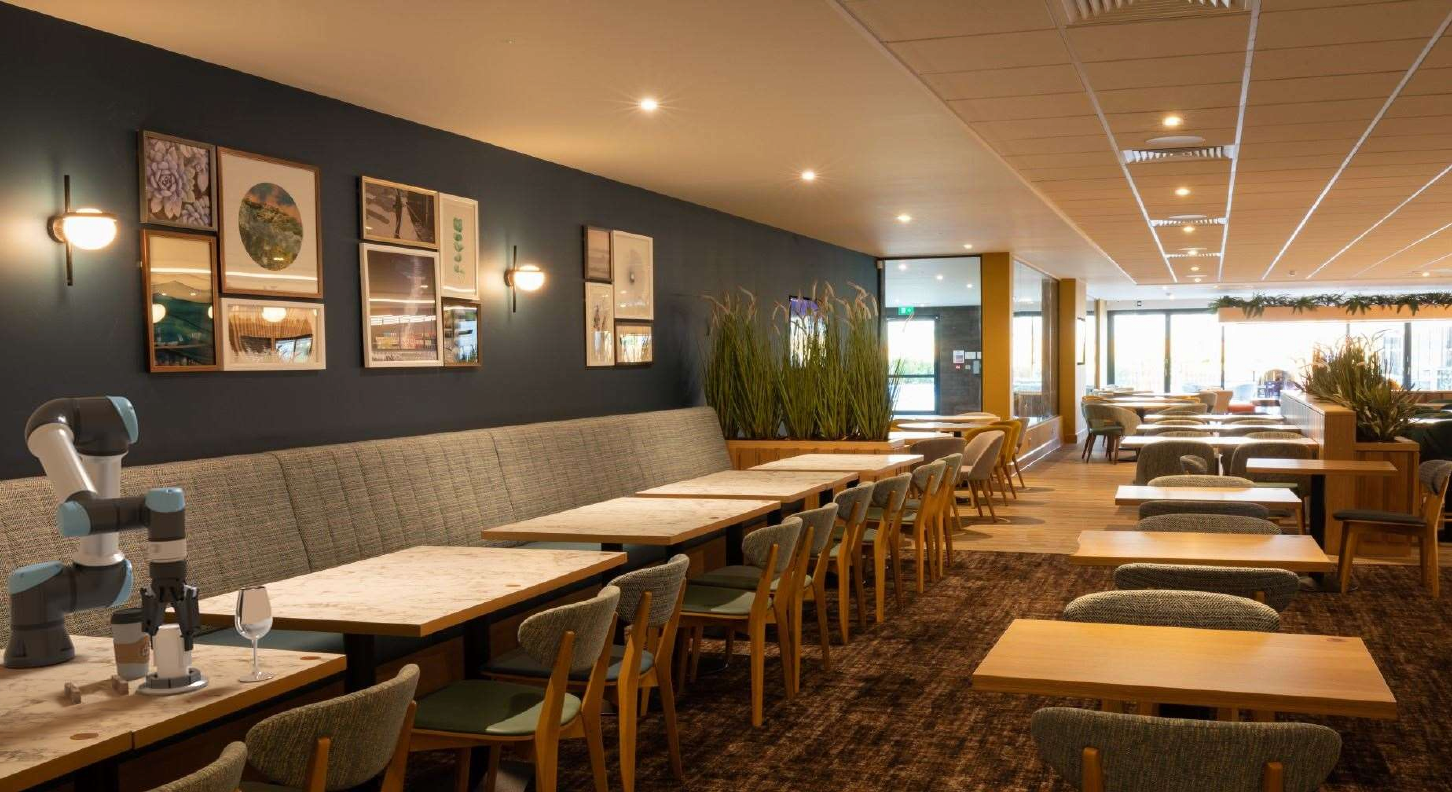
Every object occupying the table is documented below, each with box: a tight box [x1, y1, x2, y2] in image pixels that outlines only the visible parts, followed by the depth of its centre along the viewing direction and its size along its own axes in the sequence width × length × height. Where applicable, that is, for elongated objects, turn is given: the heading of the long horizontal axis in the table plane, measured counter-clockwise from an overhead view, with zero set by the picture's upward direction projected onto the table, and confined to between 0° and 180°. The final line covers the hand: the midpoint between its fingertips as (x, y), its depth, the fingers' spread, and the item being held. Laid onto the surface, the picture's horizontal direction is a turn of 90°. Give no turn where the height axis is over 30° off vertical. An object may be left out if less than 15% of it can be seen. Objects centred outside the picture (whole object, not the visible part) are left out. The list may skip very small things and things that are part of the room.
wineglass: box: [234, 585, 275, 683], centre depth 273 cm, size 8×8×20 cm
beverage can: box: [156, 623, 189, 678], centre depth 267 cm, size 6×6×12 cm
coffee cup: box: [110, 606, 151, 681], centre depth 278 cm, size 8×8×15 cm
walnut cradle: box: [64, 674, 130, 705], centre depth 263 cm, size 10×10×2 cm
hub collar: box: [137, 667, 210, 697], centre depth 267 cm, size 14×14×3 cm
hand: (172, 665), depth 267 cm, fingers closed on beverage can, 6 cm apart
